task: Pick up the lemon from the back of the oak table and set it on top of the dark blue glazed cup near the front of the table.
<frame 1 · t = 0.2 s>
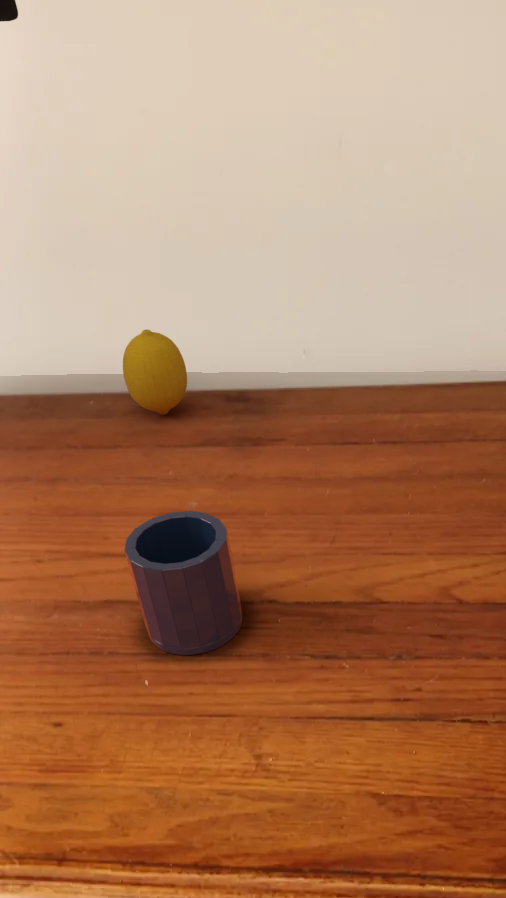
hand: (39, 6, 61), 33 cm above the table, tool pointing down, fingers open, 9 cm apart
lemon: (164, 416, 88), on the table
cup: (195, 623, 65), on the table
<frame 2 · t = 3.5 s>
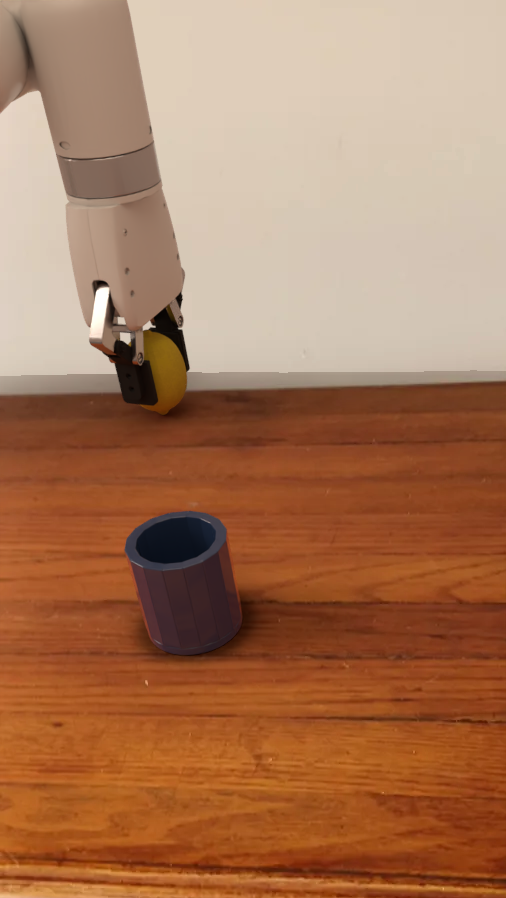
hand: (157, 384, 86), 3 cm above the table, tool pointing down, fingers closed on lemon, 5 cm apart
lemon: (164, 416, 88), on the table, touching gripper
everything else where it was.
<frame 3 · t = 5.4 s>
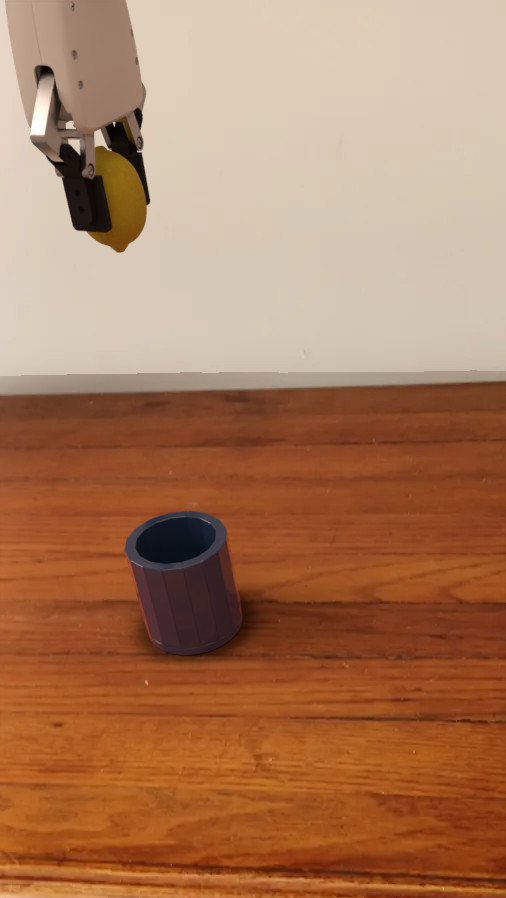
hand: (112, 215, 76), 18 cm above the table, tool pointing down, fingers closed on lemon, 5 cm apart
lemon: (121, 255, 78), point 15 cm above the table, touching gripper
everything else where it was.
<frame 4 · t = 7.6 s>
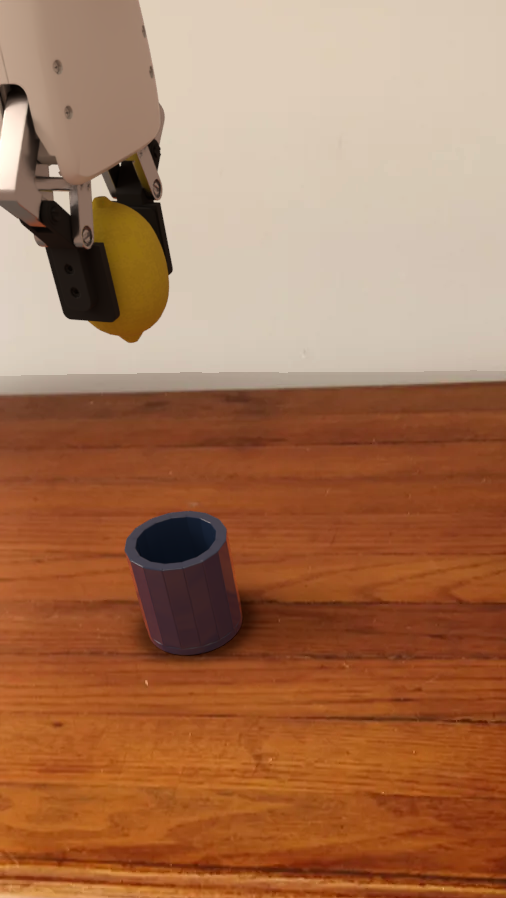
hand: (120, 292, 54), 21 cm above the table, tool pointing down, fingers closed on lemon, 5 cm apart
lemon: (133, 345, 56), point 18 cm above the table, touching gripper
everything else where it was.
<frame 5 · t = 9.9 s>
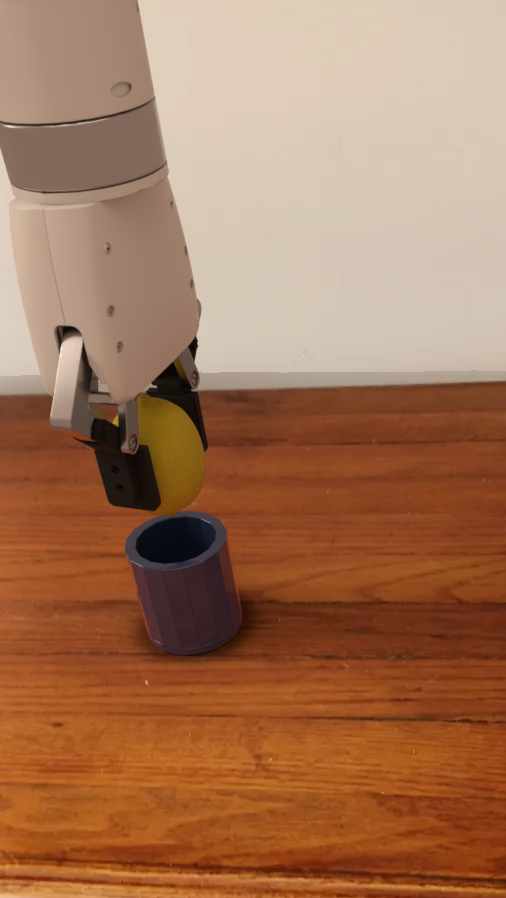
hand: (160, 474, 57), 12 cm above the table, tool pointing down, fingers closed on lemon, 5 cm apart
lemon: (171, 518, 59), point 9 cm above the table, touching gripper
everything else where it was.
when the fingers open (8 cm above the table, at t = 11.6 s): lemon stays where it is, resting on cup.
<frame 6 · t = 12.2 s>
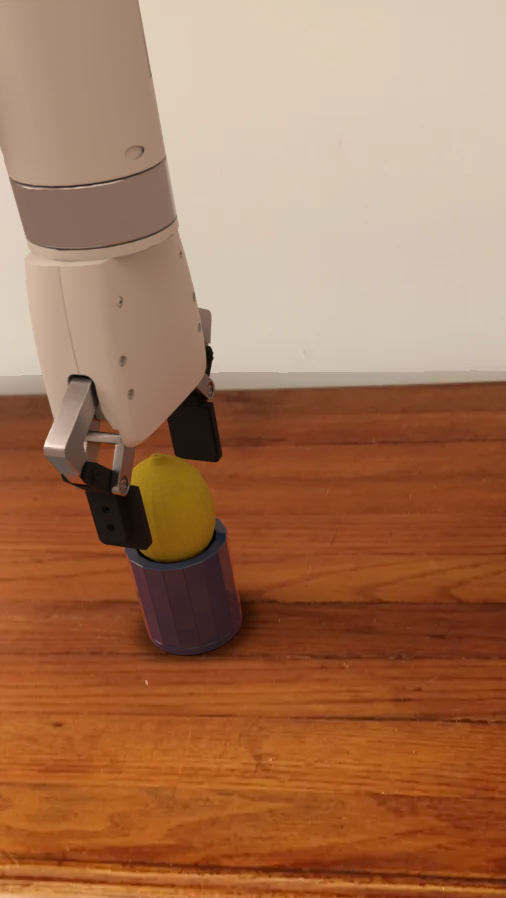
hand: (165, 498, 58), 10 cm above the table, tool pointing down, fingers open, 9 cm apart
lemon: (181, 566, 62), point 5 cm above the table, touching cup
cup: (195, 623, 65), on the table, touching lemon
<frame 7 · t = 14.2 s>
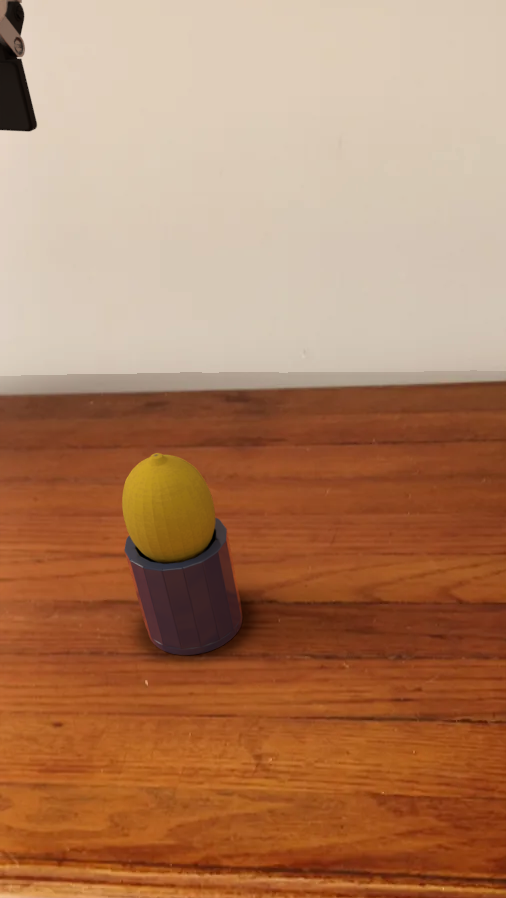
nothing on the table moved.
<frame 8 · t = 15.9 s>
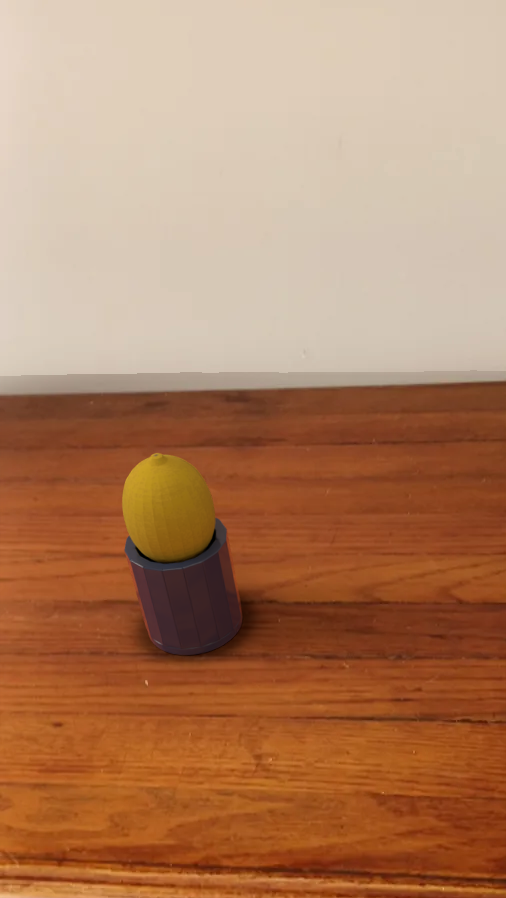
nothing on the table moved.
at the end: lemon 0.1 cm from the cup (horizontally); lemon 0.0 cm off-centre in the cup, point 4.8 cm above the cup's base; cup tilted 0° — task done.
